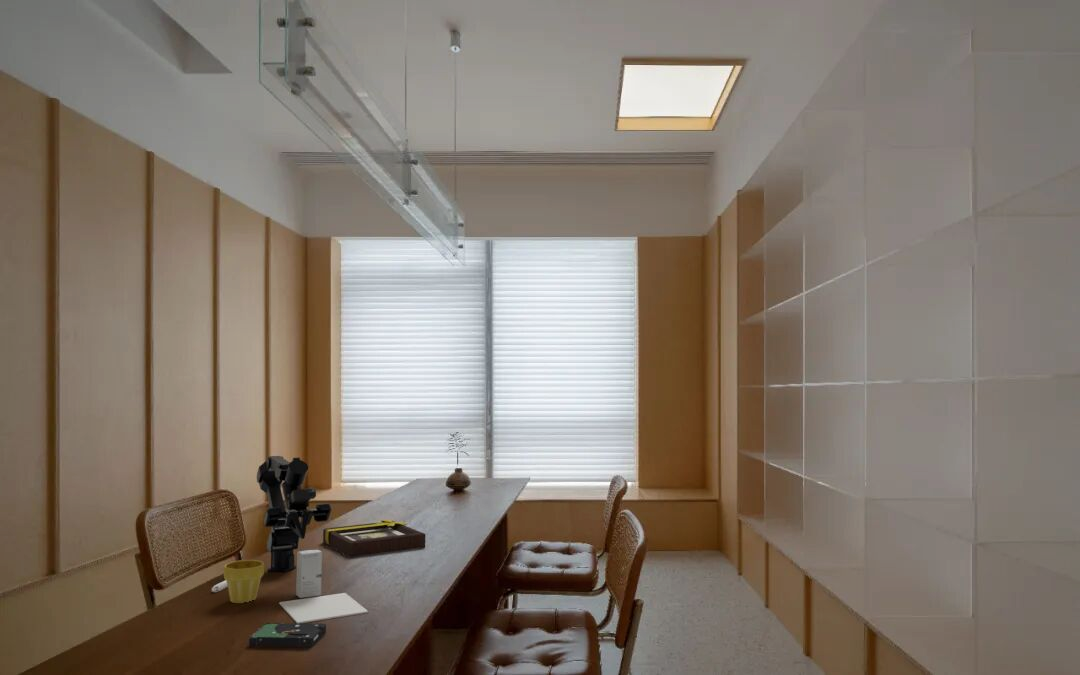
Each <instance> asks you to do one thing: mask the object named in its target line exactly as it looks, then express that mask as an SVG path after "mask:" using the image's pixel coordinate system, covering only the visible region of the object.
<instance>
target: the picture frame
mask: <svg viewBox="0 0 1080 675" xmlns="http://www.w3.org/2000/svg"><path fill="white" fill-rule="evenodd" d="M406 525H408V523H407V522H400V521H393V520H390V519H381V520H380V522H371V523H370V522H369V523H364V524H363V523H362V524H354V525H346V526H345V525H343V526H336V527H334V526H333V527H327V528H324V529H322V530H323V531H322V532H323V534H322V536H323V537H322V538H323V539H322V544H324V543H325V544H324V545H326V544H327V545H326V546H328V545H329V547H330V546H331V547H330V548H332V547H333V548H332V549H334V548H335V549H334V550H336V549H337V550H338V552H339V551H340V553H341V552H342V554H343V553H344V554H343V555H345V556H347V557H349V558H355V556H356V557H361V556H362V557H363V555H364V556H370V555H376V554H377V555H378V554H383V553H392V552H401V551H407V550H414V549H415V550H416V549H422V548H426V533H424V532H422V531H419V530H417V529H414V528H412V527H410V526H406ZM337 550H336V551H337Z"/></svg>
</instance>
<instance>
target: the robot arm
mask: <svg viewBox="0 0 1080 675" xmlns="http://www.w3.org/2000/svg"><path fill="white" fill-rule="evenodd" d="M308 469H309V465H308V463H307V462H305V461H304V460H301V458H300V457H292V460H291V461H288V460H287V459H285V458H284V456H283V455H272V456H271V455H269V456H268V457H266V460H265V461H264V463H261V464H260V465H259V466H258V469H257V473H256V481H257V482H256V483H258V486H259V488H260V490H261V491H263V492H264V494H265V493H266V496H267V502H268V506H269V507H268V508H267V509H266V511H265V513H264V514H265V515H264V518H263V522H264V523H263V524H264V526H265V527H266V528H268V527H270V528H271V530H270V532H269V535H268V538H267V542H266V549H267V551H268V552H269V553H270V567H268V568H267V571H271V572H282V573H283V572H288V571H290V570H293V569H295V568H296V569H297V565H295V554H294V550H298V549H299V541H300V539H301V540H304V539H305V536H306V532H307V526H309V525H310V524H311V521H312V519H313V520H314V521H315V522H317V523H321V522H327V521H328V520H329V518H330V515H331V513H332V506H331V504H330V503H328V502H326V503H316V505H315V508H308V507H309V506H310V501H311V500H313V499H315V498H316V497H317V492H316V488H315V486H311V487H310V486H309V487H308V488H303V486H302V485H304V483H305V481H306V477H307V474H308V471H309V470H308Z"/></svg>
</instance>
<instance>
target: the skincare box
mask: <svg viewBox="0 0 1080 675" xmlns="http://www.w3.org/2000/svg"><path fill="white" fill-rule="evenodd" d="M296 554H297V555H296V556H297V557H296V584H295V585H296V588H295V592H296V593H295V595H296V596H297V597H298V598H300V599H305V598H312V597H320V596H322V575H323V574H322V569H323V568H322V567H323V551H321V550H320V549H306V550H300V551H297V553H296Z"/></svg>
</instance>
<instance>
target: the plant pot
mask: <svg viewBox="0 0 1080 675" xmlns="http://www.w3.org/2000/svg"><path fill="white" fill-rule="evenodd" d="M264 574H265V563H264V561H262V560H260V559H241V560H235V561H230V562H227V563H226V564H224V566H223V578H224V580H226V581H227V586H228V587H227V591H228V596H229V600H230V602H231V603H233V604H245V603H244V602H247V603H250V602H249V601H251V602H253V601H252V600H254V601H255V600H256V599H257V596H258V591H259V587H260V583H261V580H262V577H263V576H264Z"/></svg>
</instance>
